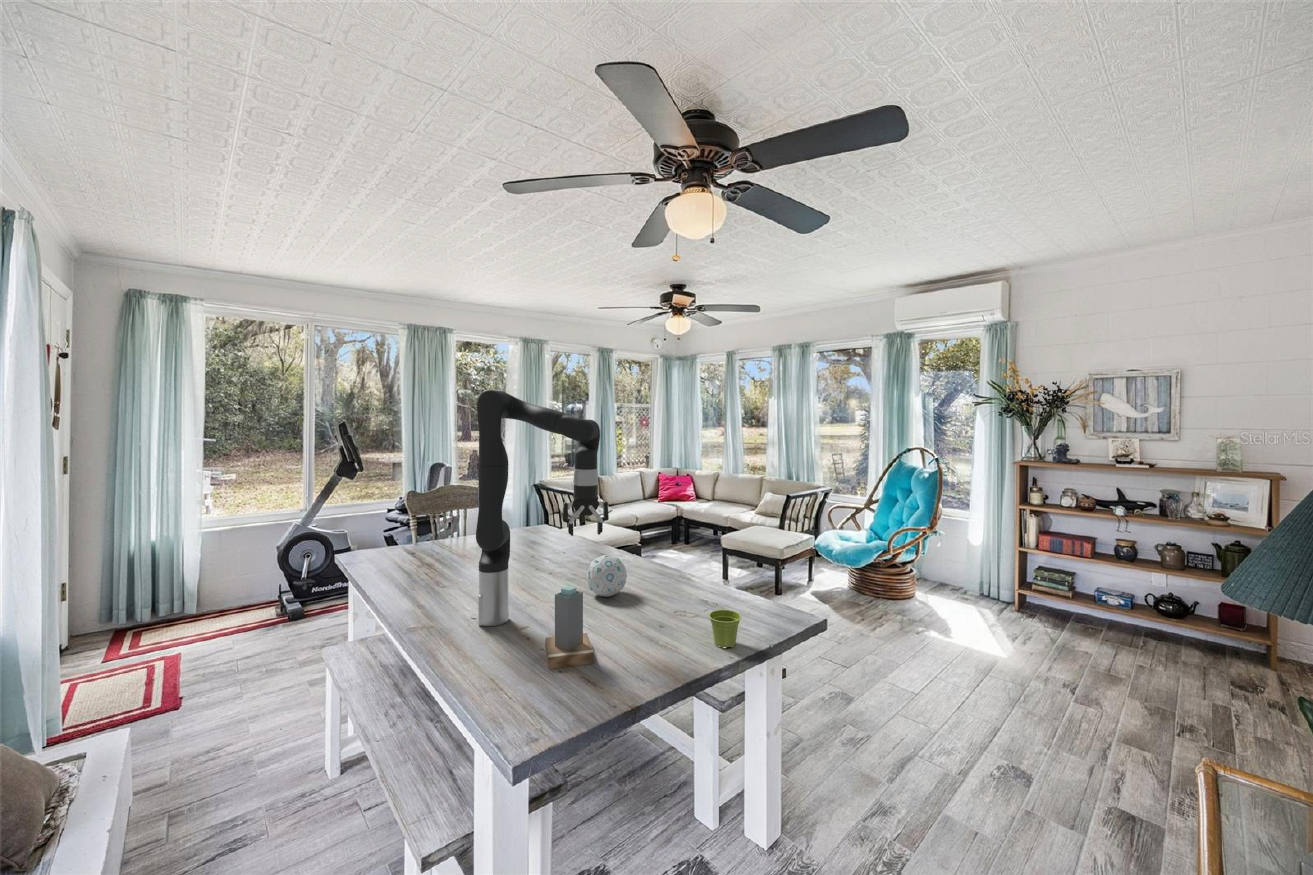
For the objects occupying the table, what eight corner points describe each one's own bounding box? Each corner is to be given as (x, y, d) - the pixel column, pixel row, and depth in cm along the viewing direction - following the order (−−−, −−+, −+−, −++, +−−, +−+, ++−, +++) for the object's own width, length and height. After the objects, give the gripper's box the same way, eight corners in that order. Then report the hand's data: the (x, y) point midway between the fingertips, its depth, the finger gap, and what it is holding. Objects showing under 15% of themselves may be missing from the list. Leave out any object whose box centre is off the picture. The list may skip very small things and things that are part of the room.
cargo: (568, 596, 145) (568, 585, 145) (576, 598, 143) (576, 587, 143) (561, 599, 142) (561, 588, 142) (569, 601, 141) (568, 590, 141)
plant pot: (733, 654, 144) (733, 624, 144) (703, 646, 149) (703, 617, 149) (745, 642, 152) (746, 613, 152) (717, 635, 157) (717, 607, 157)
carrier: (569, 638, 147) (569, 588, 147) (582, 642, 144) (582, 592, 144) (554, 646, 142) (554, 594, 142) (568, 650, 139) (568, 598, 139)
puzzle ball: (579, 599, 188) (579, 558, 188) (598, 586, 202) (598, 549, 202) (616, 604, 183) (616, 563, 182) (633, 591, 197) (633, 552, 196)
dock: (548, 668, 135) (548, 657, 135) (545, 647, 148) (545, 636, 148) (593, 663, 138) (593, 651, 138) (586, 643, 151) (586, 632, 151)
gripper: (564, 485, 154) (563, 538, 155) (610, 484, 158) (610, 536, 159) (561, 482, 162) (561, 533, 162) (606, 481, 165) (605, 531, 166)
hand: (585, 534), depth 160 cm, fingers open, 8 cm apart
